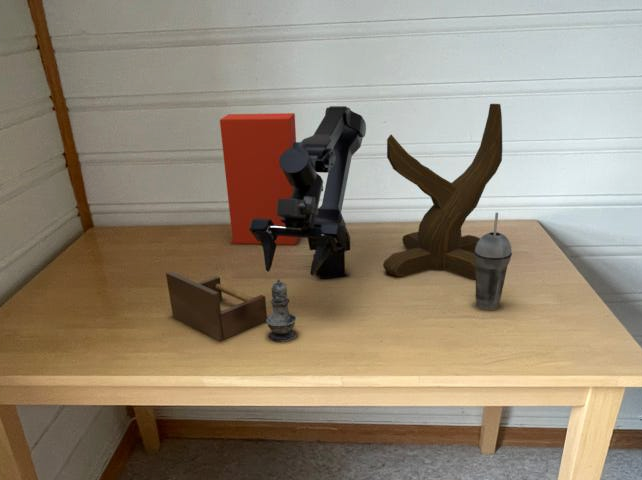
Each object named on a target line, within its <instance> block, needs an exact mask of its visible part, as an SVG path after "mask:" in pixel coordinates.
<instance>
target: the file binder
mask: <svg viewBox="0 0 642 480" xmlns="http://www.w3.org/2000/svg"><path fill="white" fill-rule="evenodd" d="M219 126H220V127H219V128H220V136H221V144H222V155H223V163H224V164H223V165H224V172H225V173H224V175H225V182H226V192H227V201H228V210H229V211H228V212H229V220H230V230H231V239H232V244H233V245H236V244H237V245H262V244H261V243H260V242H259V241H257V240H256V238H255V237H254V236H253V234H252V233H251V232H250V230H249V227H250V223H251V221H252V220H253V219H254V218H264V219H271V220H272V222H273V223H274V225H275V226H285V223H282V221H281V216H277V205H278V199H288V198H289V197H291V195H292V191H293V186H291V185H290V184H289V182H288V180H287V178H286V176H285V174H284V172H283V170H282V169H281V167H280V164H279V160H280V156H282V154H283V153H284V152H285V151H286V150H287V149H289V148H291V147H293V142H297V131H296V114H295V113H294V112H288V113H285V112H284V113H281V112H279V113H228V114H226V115H224V116H223V117H222V118H220V119H219ZM300 238H301V237H288V236H277V240H275V241H274V242H275V243H276V246H277V245H280V246H281V245H282V246H296V245H297V243H298V241H299V240H300Z"/></svg>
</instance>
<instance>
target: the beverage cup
mask: <svg viewBox="0 0 642 480" xmlns="http://www.w3.org/2000/svg"><path fill="white" fill-rule="evenodd" d="M498 219H499V212H498V211H497V212H495V214H494V225H493V231H491V232H488V233H486V234H483V236H481V237H479V238H480V240H479V241H478V243H477V245H476V248H475V251H474V254H475V263H476V279H475V306H476V308H477V309H480V310H482V311H494V310H497V309H498V308H499V305H500V302H501V298H502V294H503V288H504V285H505V280H506V275H507V270H508V267H509V264H510V261H511V258H512V256H513V252H512V245H511V242H510V239H509V238H508V237H507V236H506V235H505V234H503V233H501V232H498V231H497V229H498V221H499V220H498Z"/></svg>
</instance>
